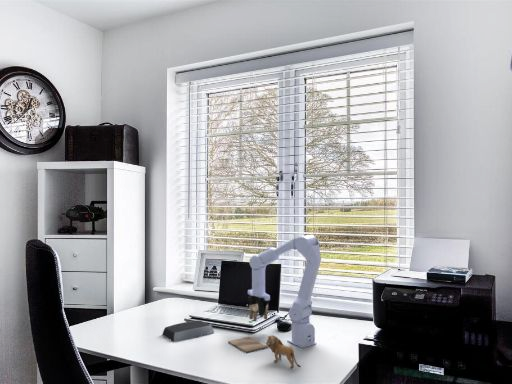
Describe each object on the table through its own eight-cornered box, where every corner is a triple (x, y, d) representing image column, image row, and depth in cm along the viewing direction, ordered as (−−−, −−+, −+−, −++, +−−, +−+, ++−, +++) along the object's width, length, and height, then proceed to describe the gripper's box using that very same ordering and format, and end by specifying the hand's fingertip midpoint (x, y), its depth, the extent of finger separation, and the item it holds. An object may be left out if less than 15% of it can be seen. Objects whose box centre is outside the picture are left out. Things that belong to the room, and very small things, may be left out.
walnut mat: (267, 348, 171) (267, 346, 171) (246, 353, 165) (246, 351, 165) (248, 338, 182) (248, 336, 182) (228, 342, 177) (228, 341, 177)
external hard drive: (215, 334, 188) (215, 325, 188) (174, 343, 177) (174, 333, 177) (200, 327, 199) (200, 318, 199) (161, 335, 187) (161, 325, 187)
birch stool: (267, 318, 189) (268, 305, 189) (254, 321, 185) (254, 307, 185) (262, 316, 193) (262, 302, 192) (248, 318, 189) (249, 305, 189)
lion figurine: (263, 360, 158) (263, 336, 158) (272, 356, 162) (272, 332, 162) (296, 371, 148) (296, 345, 148) (305, 366, 153) (305, 340, 153)
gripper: (242, 280, 193) (242, 311, 193) (260, 286, 181) (260, 319, 180) (255, 279, 197) (255, 309, 196) (273, 284, 184) (274, 316, 184)
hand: (258, 313), depth 189 cm, fingers closed on birch stool, 4 cm apart
